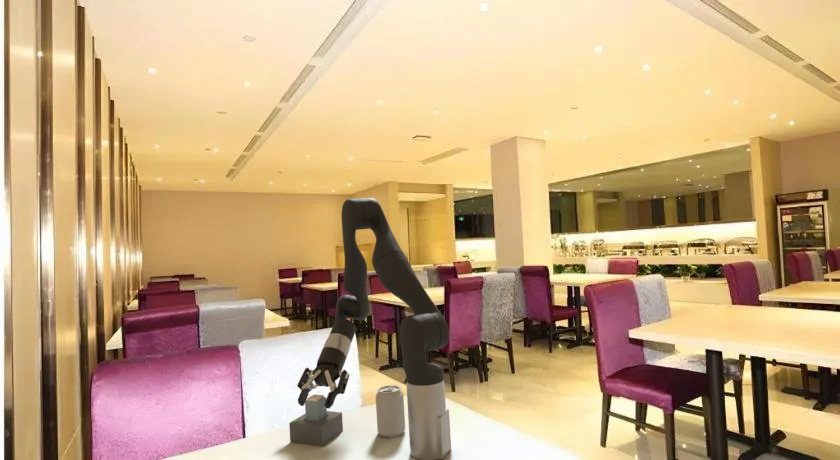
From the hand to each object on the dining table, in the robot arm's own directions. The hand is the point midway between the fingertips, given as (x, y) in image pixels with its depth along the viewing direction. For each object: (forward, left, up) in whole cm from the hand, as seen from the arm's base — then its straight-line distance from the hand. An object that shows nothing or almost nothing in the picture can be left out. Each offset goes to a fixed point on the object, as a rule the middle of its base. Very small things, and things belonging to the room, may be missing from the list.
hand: (313, 405), depth 122 cm
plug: (0, -1, -7) cm, 8 cm away
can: (-19, -8, -9) cm, 22 cm away
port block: (0, -1, -8) cm, 8 cm away
